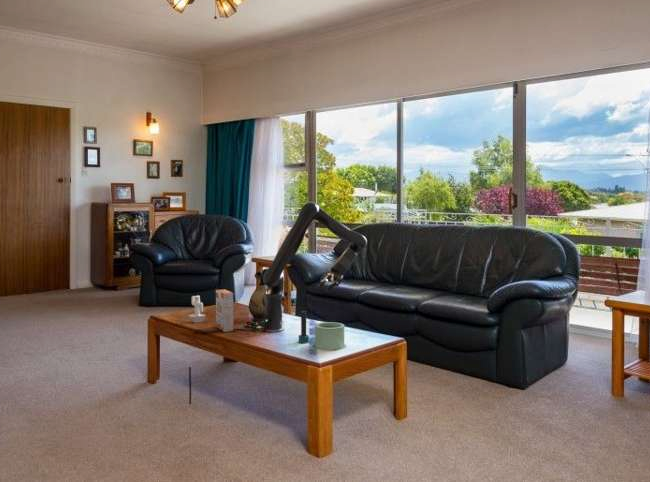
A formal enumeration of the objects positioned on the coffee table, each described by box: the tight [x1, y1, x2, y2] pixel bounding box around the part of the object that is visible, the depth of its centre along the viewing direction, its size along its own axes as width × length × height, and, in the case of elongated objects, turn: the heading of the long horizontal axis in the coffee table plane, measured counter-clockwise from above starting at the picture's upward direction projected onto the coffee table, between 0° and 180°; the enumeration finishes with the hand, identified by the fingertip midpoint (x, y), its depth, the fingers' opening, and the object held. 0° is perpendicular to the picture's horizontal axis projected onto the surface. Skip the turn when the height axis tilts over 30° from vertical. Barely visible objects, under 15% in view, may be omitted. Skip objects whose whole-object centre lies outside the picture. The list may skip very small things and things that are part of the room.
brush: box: [298, 310, 310, 344], centre depth 277 cm, size 5×5×15 cm
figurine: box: [188, 295, 207, 323], centre depth 325 cm, size 7×9×15 cm
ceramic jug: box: [248, 267, 269, 321], centre depth 333 cm, size 17×15×30 cm
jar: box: [314, 321, 345, 351], centre depth 269 cm, size 14×14×10 cm
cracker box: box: [215, 289, 234, 333], centre depth 304 cm, size 14×6×21 cm, turn 27°
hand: (323, 290), depth 284 cm, fingers open, 8 cm apart
